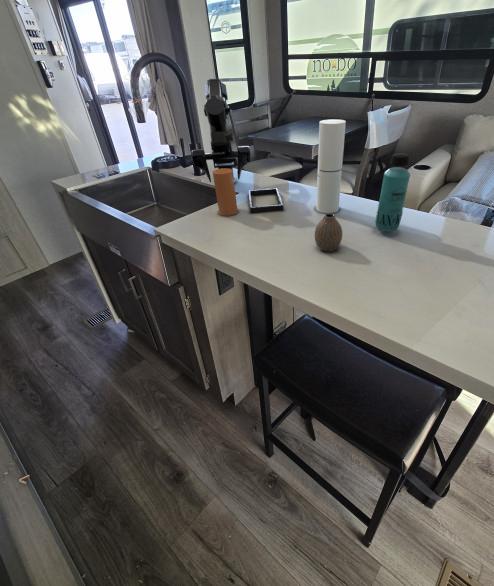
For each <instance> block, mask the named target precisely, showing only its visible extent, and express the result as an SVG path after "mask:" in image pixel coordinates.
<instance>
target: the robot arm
mask: <svg viewBox="0 0 494 586" xmlns="http://www.w3.org/2000/svg"><path fill="white" fill-rule="evenodd" d="M206 82H207V83H206V84H205V85H204V92H205V104H204V105H203V112H204V116H205V117H206V118H207V121H208V124H209V135H210V150H211V152H205V150H204V148H200V149H198V148H197V149H193V150H191V159H192V162H193V165H194V166H195V167H197V168H199V169H202V170H203V172H204V173H205V174H206V178H207V179H208V181H209V182H210V183H211V182H212V177H211V174H210V169H209V166H208V162H207V161H212V162H213V168H214V169H222V168H229V169H232V170H233V171H234V168H236V167H237V174H236V175H237V180H240V179H241V175H242V171H243V169H244V166H246V165H248V163H251V148H250V146H249V145H238V146H237V150H234V149H233V148H232V143H231V142H234V137H233V129H232V128H231V129H229V128H228V125H227V119H228V117H227V116H229V115H230V113H231V110H230V106H229V105H228V102H227V101H229V97H228V89H227V84H225V83H223V82H222V79H220V78H208V79H207V80H206ZM234 175H235V174H233V178H234V184H236V177H235V176H234Z"/></svg>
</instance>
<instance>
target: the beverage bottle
mask: <svg viewBox="0 0 494 586" xmlns="http://www.w3.org/2000/svg"><path fill="white" fill-rule="evenodd" d="M409 160H410V155H409V154H406V153H393V154H392V156H391V159H390V162H389V164H390V165H391V166H396V167H390V168H388V169H387V170H385V171H384V173H383V178H382V184H381V191H380V196H379V199H378V205H377V210H376V214H375V220H374V222H375V228H376V229H378V230H379V231H382V232H383V231H384V232H394V231H397V230H398V228H399V227H400V225H401V222H402V217H403V211H404V205H405V203H406V202H405V201H406V196H407V193H408V191H407V190H408V186H409V181H410V177H411V172H410V171H409V170H408V169H406V168H405V166H408V165H409Z"/></svg>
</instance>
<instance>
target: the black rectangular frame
mask: <svg viewBox="0 0 494 586" xmlns="http://www.w3.org/2000/svg"><path fill="white" fill-rule="evenodd" d="M247 192H248V199H249V200H248V201H249V209H250V214H256V213H257V214H258V213H268V212H281V211H284V204H283V200H282V197H281V194H280V192H279V188H276V187H275V188H263V189H251V190H250V189H249V190H248V191H247ZM265 195H266V196H267V195H276V197H277V200H278V201H277V202H278V204H273V205H259V206H253V205H252V203H253V202H252V196H254V197H255V196H265Z"/></svg>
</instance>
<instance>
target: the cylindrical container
mask: <svg viewBox="0 0 494 586" xmlns="http://www.w3.org/2000/svg"><path fill="white" fill-rule="evenodd" d="M345 136H346V120H344V119H334V118H333V119H332V118H331V119H323V120H319V126H318V153H317V154H318V155H317V178H316V179H317V181H316V204H315V205H316V211H317V212H319V213H322V214H334V213H337V212H338V211H339V210H340V196H341V185H342V184H341V183H342V174H343V161H344V160H343V159H344V150H345V148H344V147H345Z"/></svg>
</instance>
